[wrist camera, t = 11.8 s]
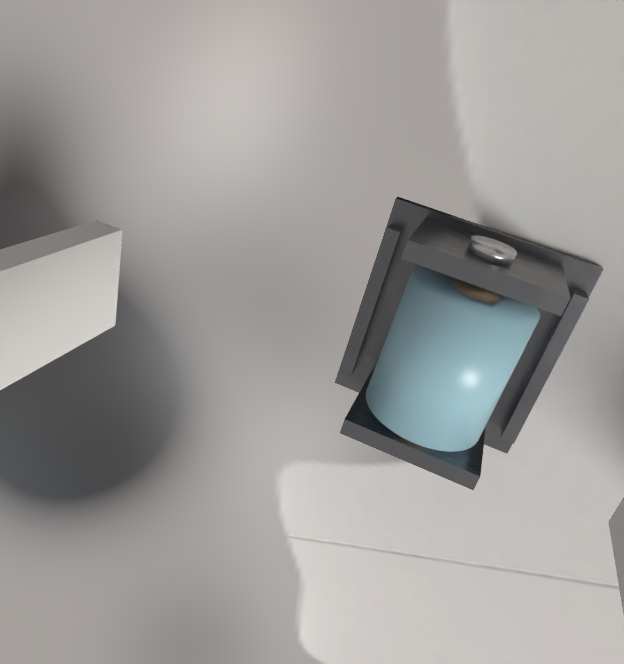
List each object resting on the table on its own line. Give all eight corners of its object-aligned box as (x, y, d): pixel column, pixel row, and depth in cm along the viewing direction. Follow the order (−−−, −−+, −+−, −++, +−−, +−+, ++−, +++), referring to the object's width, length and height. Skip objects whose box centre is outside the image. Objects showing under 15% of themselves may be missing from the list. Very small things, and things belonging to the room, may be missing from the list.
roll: (435, 252, 35) (393, 275, 29) (549, 301, 33) (529, 337, 27) (390, 366, 39) (345, 407, 33) (490, 417, 36) (461, 471, 30)
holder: (398, 195, 35) (373, 214, 29) (602, 264, 32) (620, 301, 26) (337, 380, 40) (305, 427, 34) (506, 449, 38) (503, 513, 32)
